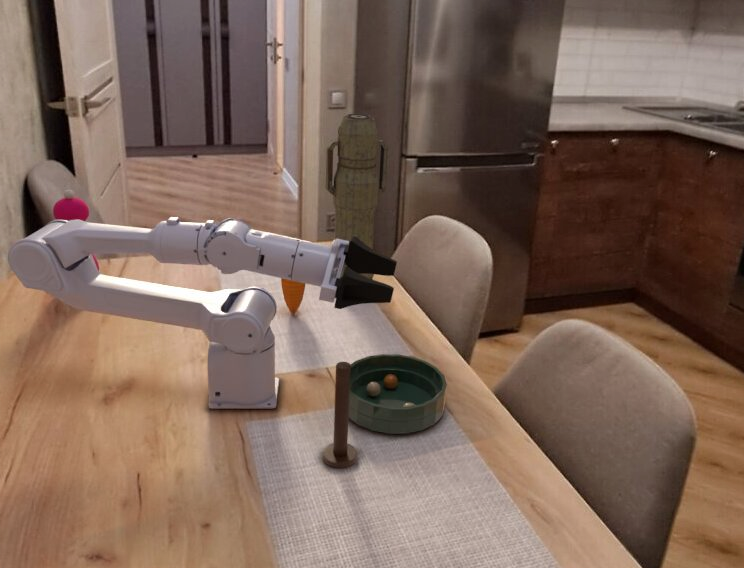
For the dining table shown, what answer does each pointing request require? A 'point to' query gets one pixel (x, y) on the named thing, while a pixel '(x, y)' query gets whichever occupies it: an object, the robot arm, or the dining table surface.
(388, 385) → the bead
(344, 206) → the thermos
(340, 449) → the stick
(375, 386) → the bead
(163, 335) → the dining table surface
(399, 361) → the bowl
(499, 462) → the dining table surface
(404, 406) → the bead
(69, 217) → the pepper mill
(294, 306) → the carrot
